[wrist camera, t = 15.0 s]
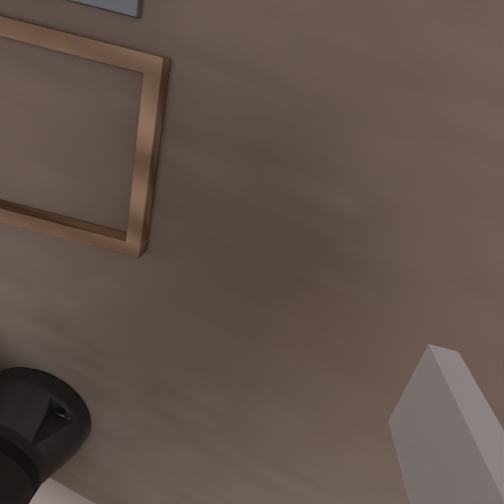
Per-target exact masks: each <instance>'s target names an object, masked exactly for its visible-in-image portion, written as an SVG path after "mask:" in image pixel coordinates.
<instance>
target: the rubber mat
mask: <svg viewBox="0 0 504 504" xmlns="http://www.w3.org/2000/svg"><path fill="white" fill-rule="evenodd" d="M70 1H74V2H78V3H82V4H86V5H90V6H94V7H98V8H102V9H106V10H109V11H113V12H117V13H121V14H125V15H129V16H133V17H137V18H141V11H142V0H70Z"/></svg>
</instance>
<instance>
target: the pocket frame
mask: <svg viewBox="0 0 504 504" xmlns="http://www.w3.org/2000/svg"><path fill="white" fill-rule="evenodd" d="M0 36H3V37H7V38H11V39H15V40H18V41H22V42H26V43H30V44H34V45H38V46H42V47H46V48H49V49H53V50H57V51H61V52H65V53H69V54H73V55H77V56H80V57H84V58H88V59H92V60H96V61H100V62H104V63H108V64H111V65H115V66H119V67H123V68H127V69H131V70H135V71H139V72H142V73H144V75H143V85H142V94H141V104H140V113H139V123H138V132H137V142H136V151H135V161H134V170H133V180H132V190H131V199H130V209H129V218H128V228H127V233H125V232H122V231H118V230H114V229H110V228H106V227H103V226H99V225H95V224H91V223H87V222H84V221H80V220H76V219H72V218H69V217H65V216H61V215H57V214H53V213H50V212H46V211H42V210H38V209H34V208H31V207H27V206H23V205H19V204H15V203H12V202H8V201H4V200H0V222H3V223H7V224H10V225H14V226H18V227H22V228H25V229H29V230H33V231H37V232H41V233H44V234H48V235H52V236H56V237H59V238H63V239H67V240H71V241H75V242H78V243H82V244H86V245H90V246H93V247H97V248H101V249H105V250H109V251H112V252H116V253H120V254H124V255H127V256H131V257H135V258H140V256H141V255H142V254H143V253H144V252H145V251H146V245H147V237H148V229H149V222H150V214H151V206H152V199H153V191H154V183H155V176H156V168H157V160H158V152H159V145H160V137H161V129H162V122H163V114H164V106H165V99H166V91H167V83H168V75H169V68H170V60H171V59H168V58H164V57H160V56H156V55H152V54H149V53H145V52H141V51H137V50H133V49H129V48H125V47H121V46H117V45H114V44H110V43H106V42H102V41H98V40H94V39H90V38H86V37H83V36H79V35H75V34H71V33H67V32H63V31H59V30H55V29H51V28H48V27H44V26H40V25H36V24H32V23H28V22H24V21H20V20H16V19H13V18H9V17H5V16H1V15H0Z"/></svg>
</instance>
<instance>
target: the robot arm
mask: <svg viewBox="0 0 504 504" xmlns="http://www.w3.org/2000/svg"><path fill="white" fill-rule="evenodd" d="M389 425H390V429H391V433H392V437H393V441H394V445H395V449H396V453H397V457H398V461H399V465H400V469H401V473H402V477H403V481H404V485H405V489H406V493H407V497H408V501H409V504H504V431H503V429H502V427H501V425H500V424H499V422H498V420H497V418H496V417H495V415H494V413H493V411H492V410H491V408H490V406H489V404H488V403H487V401H486V399H485V398H484V396H483V394H482V392H481V391H480V389H479V387H478V385H477V384H476V382H475V380H474V378H473V377H472V375H471V373H470V371H469V370H468V368H467V366H466V364H465V363H464V361H463V359H462V358H461V356H460V354H459V352H457V351H453V350H449V349H445V348H441V347H438V346H434V345H430V344H428V346H427V348H426V350H425V352H424V354H423V356H422V358H421V360H420V362H419V364H418V366H417V367H416V369H415V371H414V373H413V375H412V377H411V379H410V381H409V383H408V385H407V387H406V389H405V390H404V392H403V394H402V396H401V398H400V400H399V402H398V404H397V406H396V408H395V410H394V411H393V413H392V415H391V417H390V419H389ZM89 430H90V417H89V414H88V411H87V409H86V407H85V405H84V403H83V402H82V400H81V399H80V398H79V396H78V395H77V394H76V393H75V392H74V391H73V390H72V389H71V388H70V387H69V386H67V385H66V384H65V383H63V382H62V381H60V380H58V379H57V378H55V377H53V376H51V375H49V374H46V373H43V372H41V371H37V370H33V369H26V368H13V369H7V370H4V371H1V372H0V504H29V502H30V501H31V499H32V498H33V496H34V495H35V493H36V491H37V490H38V488H39V487H40V486H41V484H42V483H44V482H45V481H46V480H47V479H48V478H49V477H50V476H51V475H53V474H54V473H55V472H56V471H57V470H58V469H59V468H61V467H62V466H63V465H64V464H65V463H66V462H67V461H69V460H70V459H71V458H72V457H73V456H74V455H75V454H76V453H77V452H78V450H79V449H80V448H81V446H82V444H83V443H84V441H85V439H86V438H87V436H88V434H89Z"/></svg>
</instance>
